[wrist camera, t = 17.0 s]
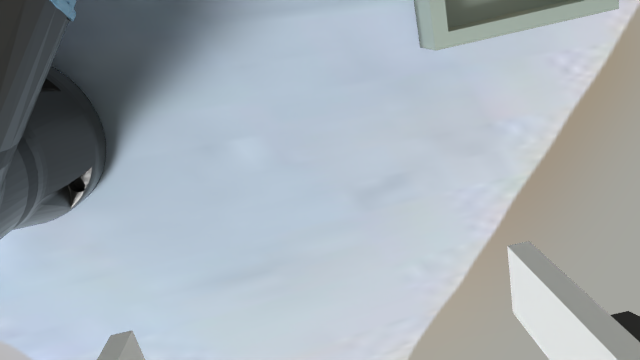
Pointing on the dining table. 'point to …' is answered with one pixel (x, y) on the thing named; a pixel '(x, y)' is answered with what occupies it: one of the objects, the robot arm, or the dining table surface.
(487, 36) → the walled box
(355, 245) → the dining table surface
